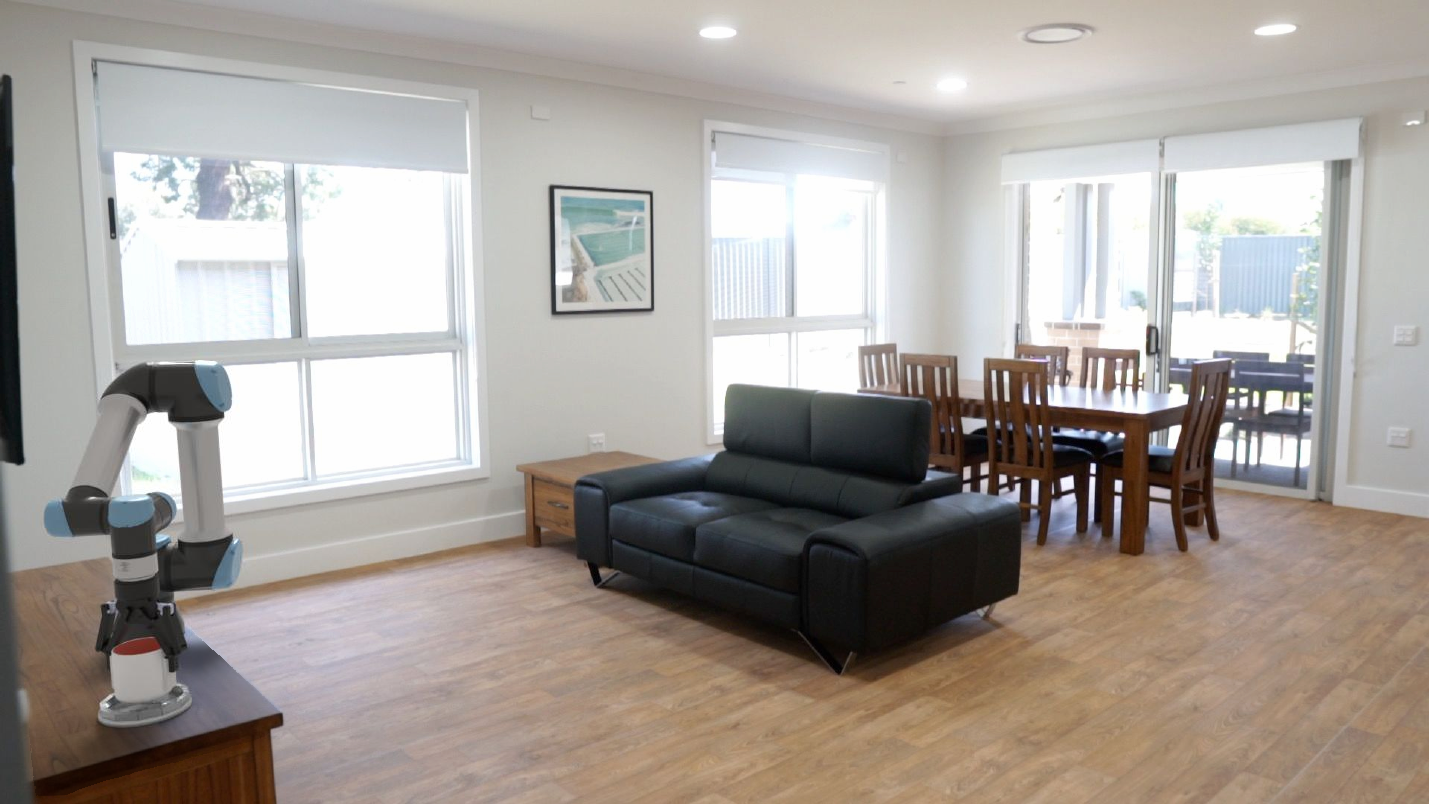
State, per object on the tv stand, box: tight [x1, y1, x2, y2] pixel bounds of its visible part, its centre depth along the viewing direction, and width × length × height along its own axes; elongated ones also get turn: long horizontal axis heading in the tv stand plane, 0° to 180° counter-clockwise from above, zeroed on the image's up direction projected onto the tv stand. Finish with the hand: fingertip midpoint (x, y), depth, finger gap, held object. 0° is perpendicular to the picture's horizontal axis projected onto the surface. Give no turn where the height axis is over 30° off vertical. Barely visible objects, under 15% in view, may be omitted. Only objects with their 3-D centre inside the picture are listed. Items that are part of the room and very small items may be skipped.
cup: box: [111, 637, 172, 704], centre depth 198 cm, size 10×10×10 cm
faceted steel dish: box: [97, 682, 193, 729], centre depth 198 cm, size 16×16×2 cm
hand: (144, 686), depth 198 cm, fingers closed on cup, 10 cm apart
